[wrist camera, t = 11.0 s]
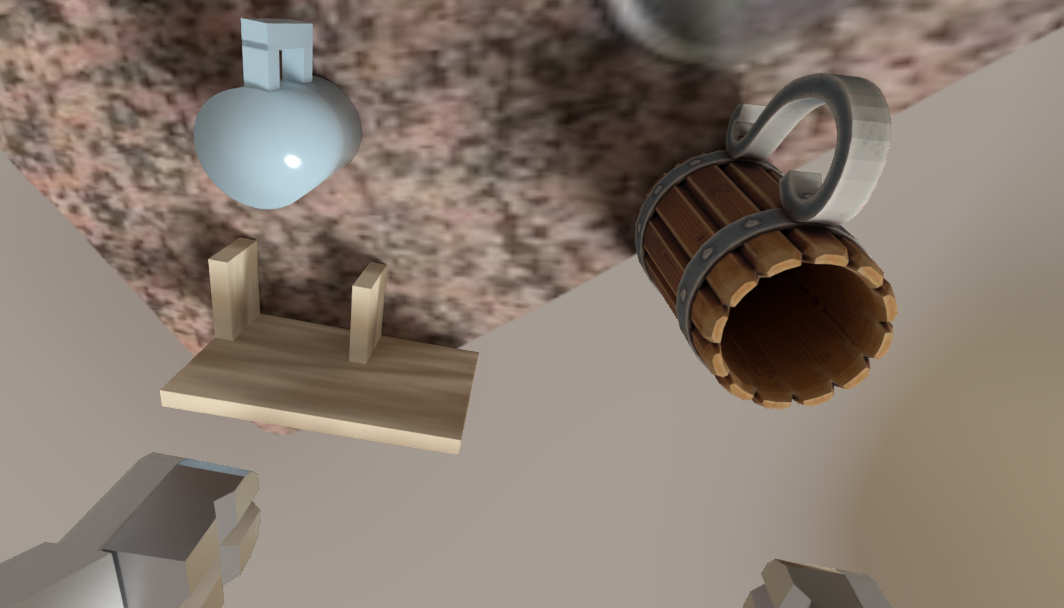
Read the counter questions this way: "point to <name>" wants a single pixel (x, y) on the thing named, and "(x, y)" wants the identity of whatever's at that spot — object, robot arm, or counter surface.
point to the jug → (276, 121)
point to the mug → (776, 249)
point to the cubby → (322, 367)
